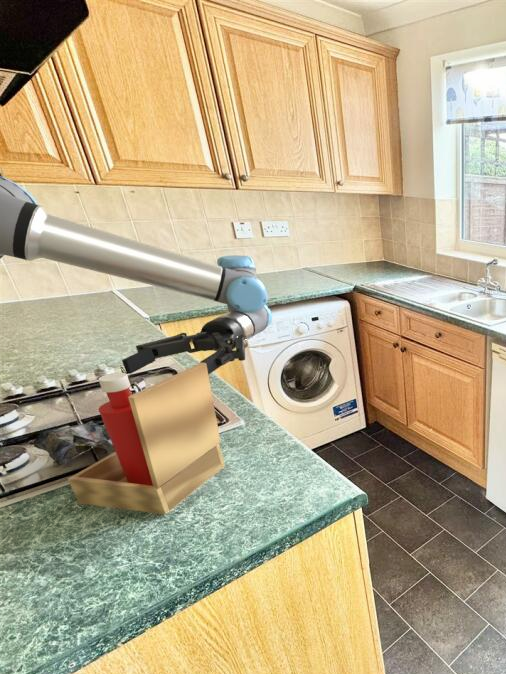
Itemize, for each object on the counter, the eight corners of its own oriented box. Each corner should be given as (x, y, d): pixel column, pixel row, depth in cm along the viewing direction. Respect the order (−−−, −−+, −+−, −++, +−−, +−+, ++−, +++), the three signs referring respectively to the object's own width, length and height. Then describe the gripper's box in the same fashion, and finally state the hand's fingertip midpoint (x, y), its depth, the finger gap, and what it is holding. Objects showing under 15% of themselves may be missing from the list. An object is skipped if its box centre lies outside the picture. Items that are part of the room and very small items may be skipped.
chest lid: (127, 396, 60) (133, 397, 60) (201, 362, 72) (206, 362, 72) (153, 487, 67) (158, 488, 67) (216, 441, 79) (220, 442, 79)
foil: (103, 469, 74) (30, 417, 73) (99, 500, 80) (32, 452, 79) (167, 433, 84) (104, 388, 83) (160, 463, 90) (101, 421, 89)
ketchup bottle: (121, 491, 73) (75, 382, 64) (151, 470, 79) (113, 367, 70) (153, 495, 73) (111, 386, 64) (181, 474, 78) (146, 371, 69)
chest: (80, 506, 70) (67, 479, 68) (152, 460, 83) (143, 435, 80) (167, 517, 69) (156, 489, 67) (226, 468, 81) (219, 443, 79)
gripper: (286, 348, 100) (240, 387, 81) (175, 345, 98) (100, 384, 78) (280, 318, 97) (231, 350, 77) (165, 314, 94) (85, 347, 75)
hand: (165, 367), depth 78 cm, fingers open, 13 cm apart
